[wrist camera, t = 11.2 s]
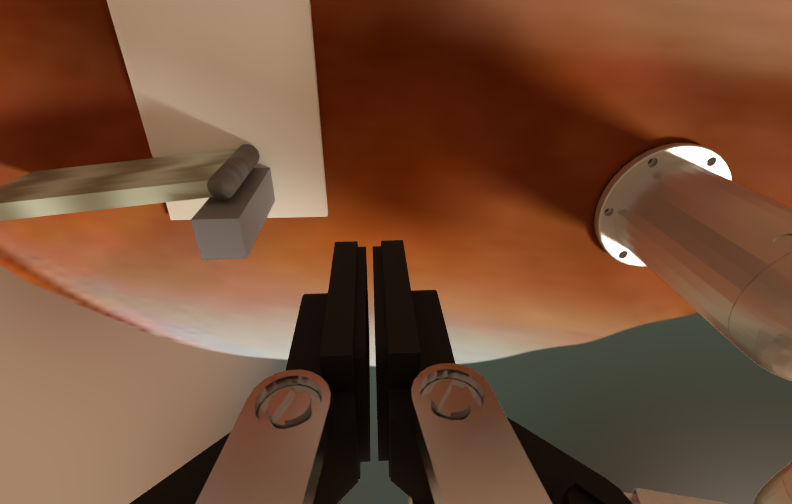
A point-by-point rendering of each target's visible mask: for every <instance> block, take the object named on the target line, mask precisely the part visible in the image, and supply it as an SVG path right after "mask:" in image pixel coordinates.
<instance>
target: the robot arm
mask: <svg viewBox="0 0 792 504" xmlns="http://www.w3.org/2000/svg"><path fill="white" fill-rule="evenodd" d="M594 224H595V233H596V236H597V238H598V241H599V243H600V244H601V246H602V247H603V249H604V250H605V251H606V252H608V253H609V255H610V256H612V257H613V258H614V259H616V260H617V261H619V262H622V263H625V264H628V265H633V266H647V267H648V268H649V269H650V270H652V271H653V272H654V273H655V274H656V275H657V276H658V277H659V278H661V279H662V280H663V281H664V282H665V283H666V284H667V285H668V286H669V287H671V288H672V289H673V290H674V291H675V292H676V293H677V294H678V295H679V296H681V297H682V298H683V299H684V300H685V301H686V302H687V303H688V304H689V305H691V306H692V307H693V308H694V309H695V310H696V311H697V312H698V313H699V314H701V315H702V316H703V317H704V318H705V319H706V320H707V321H708V322H709V323H711V324H712V325H713V326H714V327H715V328H716V329H717V330H718V331H719V332H721V333H722V334H723V335H724V336H725V337H726V338H727V339H729V340H730V341H731V342H732V343H733V344H734V345H735V346H736V347H738V348H739V349H740V350H741V351H742V352H743V353H744V354H745V355H747V356H748V357H749V358H750V359H751V360H753V361H754V362H755V363H756V364H758V365H759V366H761V367H763V368H764V369H766V370H767V371H769V372H771V373H773V374H775V375H778V376H780V377H782V378H785V379H787V380H790V381H792V208H791V207H789V206H787V205H784V204H782V203H780V202H778V201H776V200H773V199H771V198H769V197H767V196H765V195H763V194H760V193H758V192H756V191H754V190H752V189H749V188H747V187H745V186H743V185H741V184H738V183H736V182H734V181H732V177H731V172H730V170H729V168H728V165H727V163H726V162H725V161H724V160H723V158H722V157H721V156H720V155H719V154H717V153H715V152H714V151H712V150H711V149H708V148H706V147H703V146H701V145H697V144H692V143H671V144H666V145H661V146H659V147H656V148H654V149H651V150H648V151H646V152H645V153H643V154H641V155H639V156H637V157H636V158H634V159H633V160H632V161H630V162H629V163H628V164H626V165H625V166H624V167H623V168H622V169H621V170H620V171H619V172H618V173H617V174H616V175H615V176H614V177H613V178H612V180H611V181H610V182H609V184H608V185H607V186H606V188H605V189H604V191H603V193H602V195H601V197H600V199H599V202H598V205H597V208H596V212H595V220H594ZM373 273H374V310H375V347H376V379H377V380H376V382H377V420H378V454H379V461H385V460H386V461H387V460H389V477H391V481H392V482H394V483H395V484H396V485H397V486H398V487H399V488H401V489H402V490H403V491H404V492H405V493H406V494H408V502H409V504H728V503H722V502H716V501H711V500H705V499H699V498H692V497H687V496H681V495H675V494H669V493H663V492H657V491H651V490H646V489H639V488H635V489H634V491H633V494H631V493H625V492H622V491H621V490H620V489H619V488H618V487H616V486H615V485H614V484H612V483H611V482H610V481H609V480H607V479H606V478H604V477H603V476H601V475H599V474H598V473H596V472H594V471H593V470H591V469H590V468H588V467H587V466H585V465H583V464H582V463H580V462H579V461H577V460H575V459H574V458H572V457H570V456H569V455H567V454H566V453H564V452H562V451H561V450H559V449H558V448H556V447H554V446H553V445H551V444H550V443H548V442H546V441H545V440H543V439H541V438H540V437H538V436H537V435H535V434H533V433H532V432H530V431H529V430H527V429H525V428H524V427H522V426H521V425H519V424H517V423H516V422H514V421H512V420H511V419H509V418H508V417H506V415H505V413H504V411H503V409H502V407H501V406H500V404H499V402H498V400H497V398H496V396H495V394H494V392H493V390H492V389H491V387H490V385H489V384H488V383H487V382H486V380H485V379H484V377H483V376H481V375H480V374H479V373H477V372H476V371H474V370H473V369H470V368H468V367H466V366H464V365H459V364H455V361H454V357H453V353H452V349H451V345H450V341H449V337H448V333H447V329H446V325H445V321H444V317H443V314H442V310H441V306H440V302H439V298H438V294H437V291H436V290H418V291H411V288H410V282H409V276H408V270H407V263H406V257H405V251H404V245H403V240H394V241H381V246H380V247H373ZM369 377H370V374H369V318H368V290H367V263H366V247H358V244H357V241H355V242H335V247H334V254H333V261H332V268H331V276H330V283H329V290H328V293H325V294H304V295H303V297H302V301H301V305H300V310H299V314H298V318H297V323H296V327H295V332H294V336H293V341H292V345H291V349H290V354H289V358H288V363H287V367H286V371H283V372H279V373H276V374H274V375H272V376H270V377H268V378H266V379H265V380H263V381H262V382H261V383H260V384H259V385H258V386H256V387H255V388H254V390H253V391H252V393H251V394H250V395H249V397H248V399H247V401H246V403H245V405H244V407H243V409H242V411H241V413H240V415H239V417H238V419H237V421H236V423H235V425H234V427H233V429H232V431H231V432H230V433H229V434H227V435H226V436H224V437H223V438H222V439H220V440H219V441H217V442H216V443H215V444H213V445H212V446H210V447H209V448H208V449H206V450H205V451H203V452H202V453H200V454H199V455H198V456H196V457H195V458H193V459H192V460H191V461H189V462H188V463H186V464H185V465H184V466H182V467H181V468H179V469H178V470H176V471H175V472H174V473H172V474H171V475H169V476H168V477H167V478H165V479H164V480H162V481H161V482H160V483H158V484H157V485H155V486H154V487H152V488H151V489H150V490H148V491H147V492H145V493H144V494H143V495H141V496H140V497H138V498H137V499H136V500H134V501H133V502H131V503H130V504H342V498H343V497H344V496H345V495H346V494H347V493H348V492H349V490H350V489H352V487H353V486H354V485H355V484H356V483H357V482H358V479H360V462H368V461H370V383H369V382H370V378H369ZM753 504H792V462H791V463H789V464H788V465H787V466H785V467H784V468H783V469H782V470H781V471H779V472H778V473H777V474H776V475H774V476H773V477H772V478H771V479H770V480H769V481H768V482H767V483H766V484H765V485H764V486H763V487H762V488H761V490H760V491H759V492H758V494H757V496H756V497H755V500H754V503H753Z"/></svg>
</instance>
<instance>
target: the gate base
mask: <svg viewBox="0 0 792 504" xmlns="http://www.w3.org/2000/svg"><path fill="white" fill-rule="evenodd" d="M107 4H108V7H109V10H110V14H111V17H112V21H113V24H114V27H115V31H116V34H117V38H118V41H119V45H120V48H121V51H122V55H123V58H124V62H125V65H126V68H127V72H128V75H129V79H130V82H131V86H132V89H133V92H134V96H135V99H136V103H137V106H138V109H139V113H140V116H141V120H142V123H143V126H144V130H145V133H146V137H147V140H148V144H149V147H150V150H151V154H152V157H153V158H158V157H167V156H176V155H185V154H194V153H203V152H212V151H221V150H230V149H238V148H239V147H240V146H241V145H244V144H250V145H252V146H254V147H255V148H256V149H257V150H258V152H259V155H260V158H259V161H258V162H257V164H256V165H255V166H254V168H253V169H252V170H251V172H250V173H249V174H248V176H247V177H246V179H245V180H244V181H243V183H242V184H241V185H240V187H239V188H238V189H237V191H236V192H235V194H234V195H233V196H232V197H231V198H230V199H227V200H219V199H217V198H215V197H209V198H200V199H191V200H182V201H173V202H166V205H167V208H168V212H169V215H170V219H171V220H191V222H192V226H193V230H194V233H195V237H196V241H197V245H198V248H199V252H200V256H201V260H214V259H247V257H248V255H249V253H250V251H251V249H252V247H253V245H254V243H255V241H256V239H257V237H258V235H259V232H260V230H261V228H262V226H263V224H264V222H265V220H266V218H285V217H327V216H328V205H327V193H326V182H325V170H324V158H323V146H322V134H321V122H320V110H319V98H318V87H317V75H316V63H315V51H314V39H313V27H312V15H311V4H310V0H107Z"/></svg>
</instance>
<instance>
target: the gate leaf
mask: <svg viewBox="0 0 792 504" xmlns="http://www.w3.org/2000/svg"><path fill="white" fill-rule="evenodd" d="M259 158H260V155H259V152H258V150H257V149H256V148H255V147H254V146H252V145H250V144H244V145H241V146H240V147H239V148H238V149H230V150H221V151H212V152H203V153H194V154H185V155H176V156H167V157H158V158H149V159H140V160H131V161H122V162H113V163H104V164H95V165H86V166H77V167H68V168H59V169H50V170H40V171H33V172H31V173H29V174H27V175H25V176H23V177H20V178H18V179H16V180H14V181H12V182H10V183H8V184H6V185H3V186H1V187H0V221H2V220H11V219H20V218H29V217H38V216H47V215H56V214H65V213H74V212H83V211H92V210H101V209H110V208H119V207H128V206H137V205H146V204H155V203H164V202H173V201H182V200H191V199H200V198H209V197H215V198H217V199H219V200H227V199H230V198H231V197H232V196H233V195H234V194H235V192H236V191H237V189H238V188H239V187H240V185H241V184H242V183H243V181H244V180H245V179H246V177H247V176H248V174H249V173H250V172H251V170H252V169H253V168H254V166H255V165H256V164H257V162H258V161H259Z"/></svg>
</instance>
